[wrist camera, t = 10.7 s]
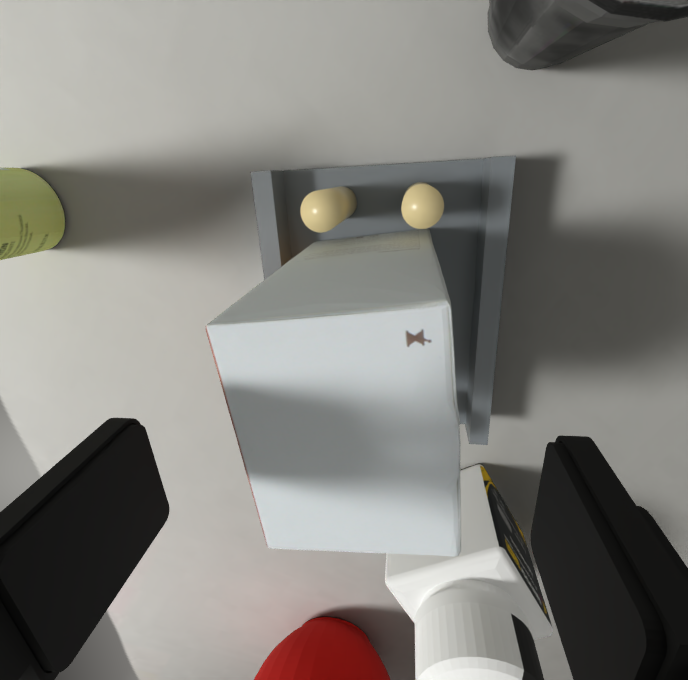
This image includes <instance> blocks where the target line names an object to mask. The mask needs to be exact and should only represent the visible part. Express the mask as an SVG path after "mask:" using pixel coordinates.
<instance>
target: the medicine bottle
mask: <svg viewBox="0 0 688 680" xmlns="http://www.w3.org/2000/svg"><path fill="white" fill-rule="evenodd" d="M460 488H461V552H460V554H459V555H458V556H454V557H453V556H436V555H412V554H389V553H387V557H386V573H385V583H386V586H387V587H388V588H389V590H390V591H391V592H392V594H393V595H394V596H395V598H396V599H397V601H398V602H399V603H400V605H401V606H402V607H403V609H404V610H405V611H406V613H407V614H408V615H409V617H410V618H411V619H412V621H413V622H414V623H415V680H544V678H543V674H542V670H541V666H540V662H539V659H538V655H537V651H536V647H535V643H534V640H535V639H540V638H545V637H550V636H551V635H552V633H553V629H552V625H551V622H550V618H549V615H548V612H547V609H546V606H545V602H544V599H543V596H542V593H541V590H540V587H539V583H538V580H537V577H536V574H535V571H534V567H533V564H532V561H531V558H530V555H529V551H528V548H527V545H526V542H525V539H524V535H523V533H522V531H521V530H520V528H519V526H518V525H517V523H516V521H515V520H514V518H513V516H512V514H511V513H510V511H509V509H508V508H507V506H506V504H505V502H504V501H503V499H502V497H501V496H500V494H499V492H498V490H497V489H496V487H495V485H494V484H493V482H492V480H491V478H490V477H489V475H488V473H487V472H486V470H485V468H484V467H483V466H482V465H480V464H478V465H474V466H471V467H469V468H466V469H463V470H460Z"/></svg>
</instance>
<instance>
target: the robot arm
mask: <svg viewBox="0 0 688 680" xmlns="http://www.w3.org/2000/svg"><path fill="white" fill-rule="evenodd" d="M168 515H169V504H168V501H167V498H166V494H165V491H164V488H163V484H162V481H161V478H160V475H159V471H158V468H157V465H156V462H155V458H154V455H153V452H152V448H151V445H150V442H149V439H148V435H147V432H146V429H145V427H144V426H143V425H140V422H139V421H138V420H136V419H131V418H110V419H109V420H107V421H106V422H104V423H103V424H102V425H101V426H100V427H99V428H98V429H96V430H95V431H94V432H93V433H92V434H91V435H89V436H88V437H87V438H86V439H85V440H84V441H82V442H81V443H80V444H79V445H78V446H77V447H75V448H74V449H73V450H72V451H71V452H70V453H69V454H67V455H66V456H65V457H64V458H63V459H62V460H60V461H59V462H58V463H57V464H56V465H55V466H53V467H52V468H51V469H50V470H49V471H48V472H47V473H45V474H44V475H43V476H42V477H41V478H40V479H38V480H37V481H36V482H35V483H34V484H33V485H31V486H30V487H29V488H28V489H27V490H26V491H25V492H23V493H22V494H21V495H20V496H19V497H18V498H16V499H15V500H14V501H13V502H12V503H11V504H9V505H8V506H7V507H6V508H5V509H4V510H3V511H1V512H0V680H54V679H55V678H56V676H57V675H58V674H59V672H61V671H63V670H65V669H66V668H67V667H68V666H69V665H70V664H71V662H72V661H73V659H74V658H75V657H76V655H77V654H78V652H79V651H80V649H81V648H82V646H83V644H84V643H85V642H86V640H87V639H88V637H89V636H90V634H91V633H92V631H93V630H94V628H95V627H96V625H97V624H98V622H99V621H100V619H101V618H102V616H103V615H104V613H105V612H106V610H107V609H108V607H109V606H110V604H111V603H112V601H113V600H114V598H115V597H116V595H117V594H118V592H119V591H120V589H121V588H122V586H123V585H124V583H125V582H126V580H127V579H128V577H129V576H130V574H131V573H132V572H133V570H134V569H135V567H136V566H137V564H138V563H139V561H140V560H141V558H142V557H143V555H144V554H145V552H146V551H147V549H148V548H149V546H150V545H151V543H152V542H153V540H154V539H155V537H156V536H157V534H158V533H159V531H160V530H161V528H162V527H163V525H164V524H165V522H166V520H167V518H168ZM531 546H532V551H533V554H534V557H535V560H536V564H537V567H538V570H539V573H540V576H541V579H542V582H543V585H544V589H545V592H546V595H547V598H548V601H549V604H550V607H551V610H552V613H553V617H554V620H555V623H556V626H557V629H558V632H559V635H560V638H561V642H562V645H563V648H564V651H565V654H566V657H567V660H568V663H569V667H570V670H571V673H572V676H573V679H574V680H688V568H687V567H686V565H685V564H684V562H683V561H682V559H681V558H680V556H679V555H678V553H677V552H676V551H675V549H674V548H673V546H672V545H671V543H670V542H669V540H668V539H667V537H666V536H665V535H664V533H663V532H662V530H661V529H660V527H659V526H658V524H657V523H656V521H655V520H654V519H653V517H652V516H651V515H650V514H649V513H648V511H647V510H645V509H644V508H642V507H640V506H636V505H635V503H634V502H633V500H632V499H631V497H630V496H629V494H628V493H627V491H626V490H625V488H624V487H623V485H622V484H621V482H620V481H619V479H618V478H617V476H616V475H615V473H614V472H613V470H612V469H611V467H610V466H609V464H608V463H607V461H606V460H605V458H604V457H603V455H602V454H601V452H600V450H599V449H598V447H597V446H596V444H595V443H594V441H593V440H592V439H591V438H589V437H581V436H558V437H557V439H556V442H549V443H548V444H547V447H546V452H545V458H544V463H543V469H542V474H541V480H540V486H539V491H538V497H537V502H536V508H535V514H534V519H533V525H532V530H531Z"/></svg>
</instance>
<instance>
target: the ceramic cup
mask: <svg viewBox="0 0 688 680" xmlns="http://www.w3.org/2000/svg"><path fill="white" fill-rule="evenodd" d="M254 680H390V678H389V675H388V673H387V670H386V668H385V666H384V664H383V663H382V661H381V659H380V657H379V655H378V654H377V652H376V650H375V649H374V647H373V646H372V645H371V643H370V642H369V639H368V637H367V636H366V635H365V633H364V632H363V631H362V630H361V629H359V628H358V627H357V626H355V625H353V624H352V623H350V622H347V621H345V620H342V619H338V618H332V617H319V618H314V619H311V620H309V621H307V622H306V623H305V624H303V625H302V627H300V628H298V629H297V630H295V631H294V632H292V633H291V634H290V635H288V636H287V637H286V638H285V639H284V640H283V641H282V642H281V643H279V644H278V645H277V646H276V647H275V649H274V650H273V651H272V652H271V653H270V655H269V656H268V657H267V659H266V660H265V662H264V663H263V665H262V667H261V668H260V670H259V672H258V673H257V675H256V677H255V679H254Z"/></svg>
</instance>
